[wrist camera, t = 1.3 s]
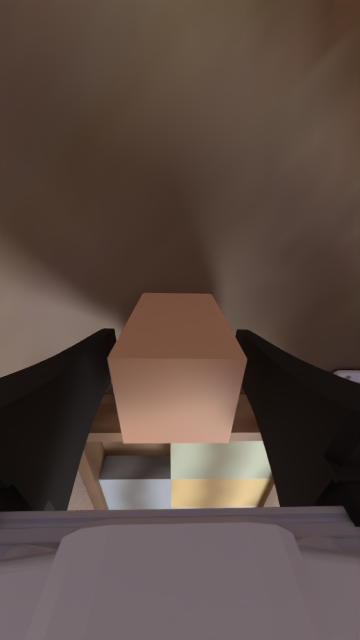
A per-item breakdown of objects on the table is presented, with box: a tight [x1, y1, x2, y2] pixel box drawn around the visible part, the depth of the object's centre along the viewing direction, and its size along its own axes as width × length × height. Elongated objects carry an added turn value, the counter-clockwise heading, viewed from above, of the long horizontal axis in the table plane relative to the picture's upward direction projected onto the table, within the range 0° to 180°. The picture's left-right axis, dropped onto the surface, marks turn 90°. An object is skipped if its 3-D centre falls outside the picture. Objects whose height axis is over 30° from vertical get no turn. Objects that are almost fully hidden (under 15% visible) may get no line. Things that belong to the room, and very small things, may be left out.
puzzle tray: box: [78, 394, 278, 510], centre depth 19 cm, size 18×20×4 cm
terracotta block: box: [107, 293, 247, 443], centre depth 10 cm, size 5×5×7 cm
